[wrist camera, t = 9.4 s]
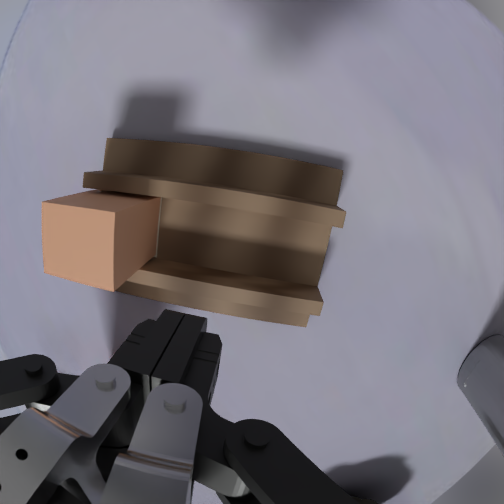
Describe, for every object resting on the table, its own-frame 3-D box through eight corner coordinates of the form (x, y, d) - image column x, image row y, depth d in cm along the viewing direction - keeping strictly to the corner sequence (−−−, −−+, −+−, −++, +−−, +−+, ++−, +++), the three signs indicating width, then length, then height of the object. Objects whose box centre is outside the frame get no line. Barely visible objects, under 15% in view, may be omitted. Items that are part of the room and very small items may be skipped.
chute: (340, 170, 23) (354, 171, 19) (305, 322, 27) (310, 346, 23) (111, 138, 23) (88, 136, 19) (103, 283, 27) (83, 300, 23)
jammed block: (160, 196, 23) (115, 212, 16) (155, 254, 25) (113, 292, 17) (99, 188, 23) (41, 201, 16) (97, 243, 25) (44, 272, 17)
